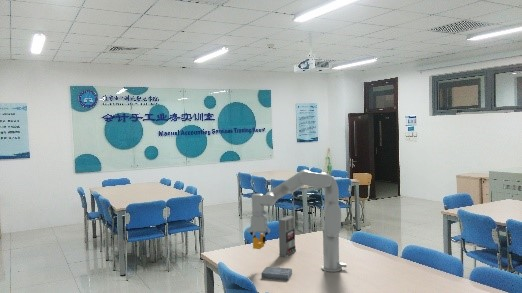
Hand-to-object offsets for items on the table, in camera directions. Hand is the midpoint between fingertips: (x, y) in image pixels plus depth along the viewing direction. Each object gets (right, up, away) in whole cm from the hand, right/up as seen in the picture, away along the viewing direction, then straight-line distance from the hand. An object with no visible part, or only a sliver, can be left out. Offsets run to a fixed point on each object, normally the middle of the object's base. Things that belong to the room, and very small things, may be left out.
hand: (259, 242), depth 253 cm
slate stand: (+11, -17, -12) cm, 23 cm away
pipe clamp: (+1, -3, +1) cm, 3 cm away
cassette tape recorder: (+20, -15, +30) cm, 39 cm away
